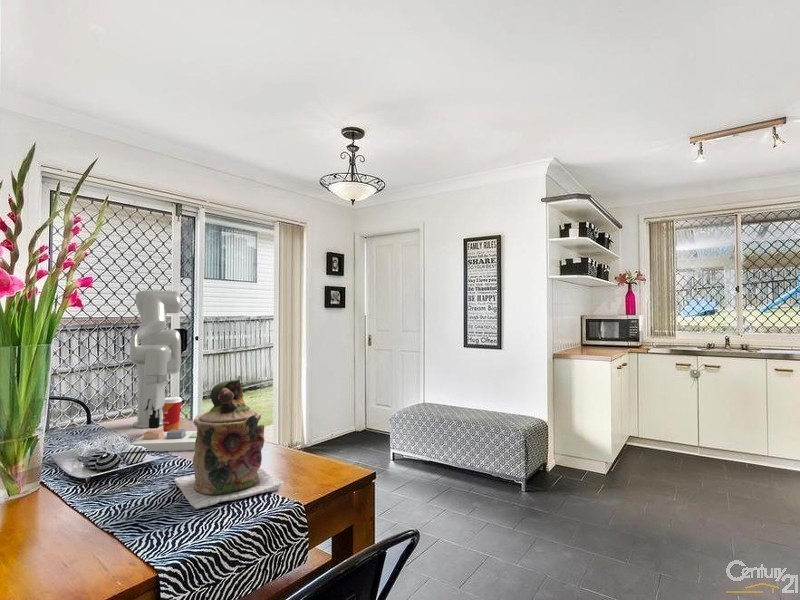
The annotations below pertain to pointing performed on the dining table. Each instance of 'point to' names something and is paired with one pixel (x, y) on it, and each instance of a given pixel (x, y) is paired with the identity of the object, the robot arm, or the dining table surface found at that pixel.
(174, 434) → the charcoal key
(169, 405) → the paper cup
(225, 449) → the cookie jar
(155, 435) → the terracotta key
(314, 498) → the dining table surface
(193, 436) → the sage key
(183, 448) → the keypad
